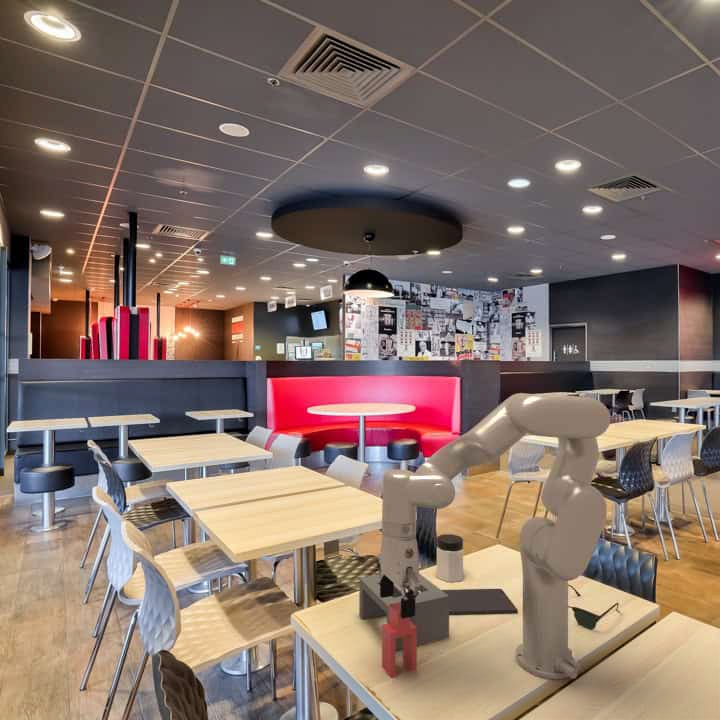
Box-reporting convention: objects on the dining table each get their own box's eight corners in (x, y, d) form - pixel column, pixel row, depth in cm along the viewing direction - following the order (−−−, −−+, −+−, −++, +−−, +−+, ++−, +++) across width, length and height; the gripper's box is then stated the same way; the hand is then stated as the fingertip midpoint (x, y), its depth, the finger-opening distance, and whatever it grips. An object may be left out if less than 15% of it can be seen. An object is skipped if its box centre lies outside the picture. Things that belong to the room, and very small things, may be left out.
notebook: (439, 617, 129) (518, 615, 131) (439, 611, 129) (518, 609, 131) (429, 595, 142) (501, 593, 143) (429, 590, 142) (501, 588, 143)
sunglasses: (629, 615, 131) (629, 596, 131) (599, 636, 120) (599, 616, 120) (570, 593, 144) (570, 576, 144) (538, 610, 133) (538, 592, 133)
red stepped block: (416, 669, 106) (416, 608, 106) (390, 677, 103) (390, 614, 104) (407, 659, 110) (407, 600, 110) (382, 666, 107) (382, 606, 107)
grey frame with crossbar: (449, 637, 119) (449, 595, 119) (390, 652, 113) (390, 608, 113) (412, 604, 135) (412, 568, 136) (359, 616, 129) (359, 577, 129)
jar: (457, 570, 159) (457, 532, 159) (468, 580, 151) (468, 541, 151) (431, 572, 156) (431, 535, 157) (442, 583, 149) (442, 544, 149)
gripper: (434, 538, 101) (432, 622, 100) (395, 514, 117) (393, 587, 116) (402, 543, 98) (400, 629, 97) (366, 517, 114) (364, 592, 113)
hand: (396, 606), depth 107 cm, fingers open, 9 cm apart
